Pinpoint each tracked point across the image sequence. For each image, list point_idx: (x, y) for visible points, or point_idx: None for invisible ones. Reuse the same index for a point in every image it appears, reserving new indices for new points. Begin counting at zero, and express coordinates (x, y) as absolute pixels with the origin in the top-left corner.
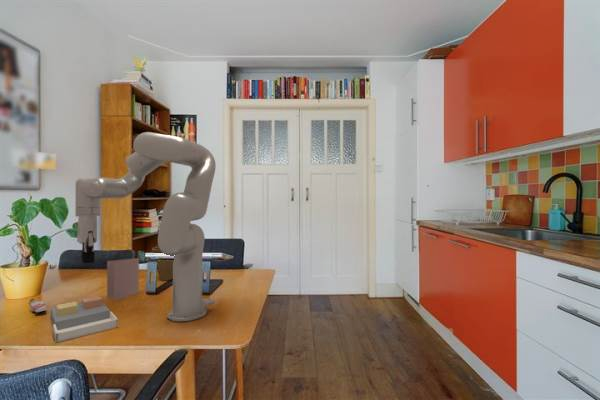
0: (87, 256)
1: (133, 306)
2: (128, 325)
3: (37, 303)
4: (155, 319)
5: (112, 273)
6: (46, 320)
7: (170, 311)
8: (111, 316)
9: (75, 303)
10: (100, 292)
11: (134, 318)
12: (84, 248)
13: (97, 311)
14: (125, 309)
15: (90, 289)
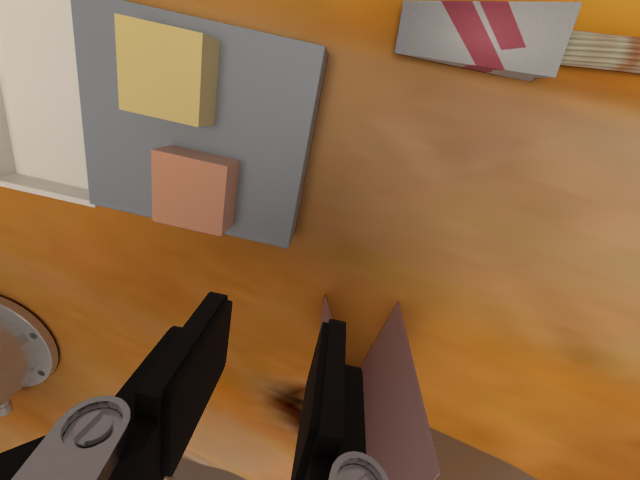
0: (145, 366)
1: (201, 300)
2: (15, 204)
3: (537, 36)
4: (21, 274)
5: (404, 403)
6: (296, 24)
7: (23, 322)
8: (68, 191)
9: (159, 112)
10: (509, 321)
11: (71, 245)
12: (82, 474)
13: (106, 169)
14: (188, 271)
15: (610, 321)
